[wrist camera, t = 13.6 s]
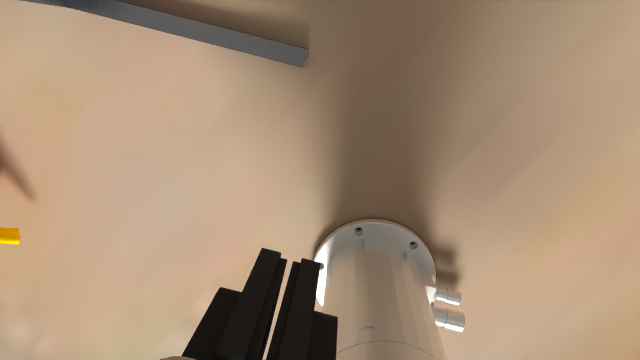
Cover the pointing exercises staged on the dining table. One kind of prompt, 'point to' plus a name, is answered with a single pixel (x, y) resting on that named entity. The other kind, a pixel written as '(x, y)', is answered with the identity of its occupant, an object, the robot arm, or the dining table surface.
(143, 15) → the motor mount
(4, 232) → the figure statuette
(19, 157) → the dining table surface
